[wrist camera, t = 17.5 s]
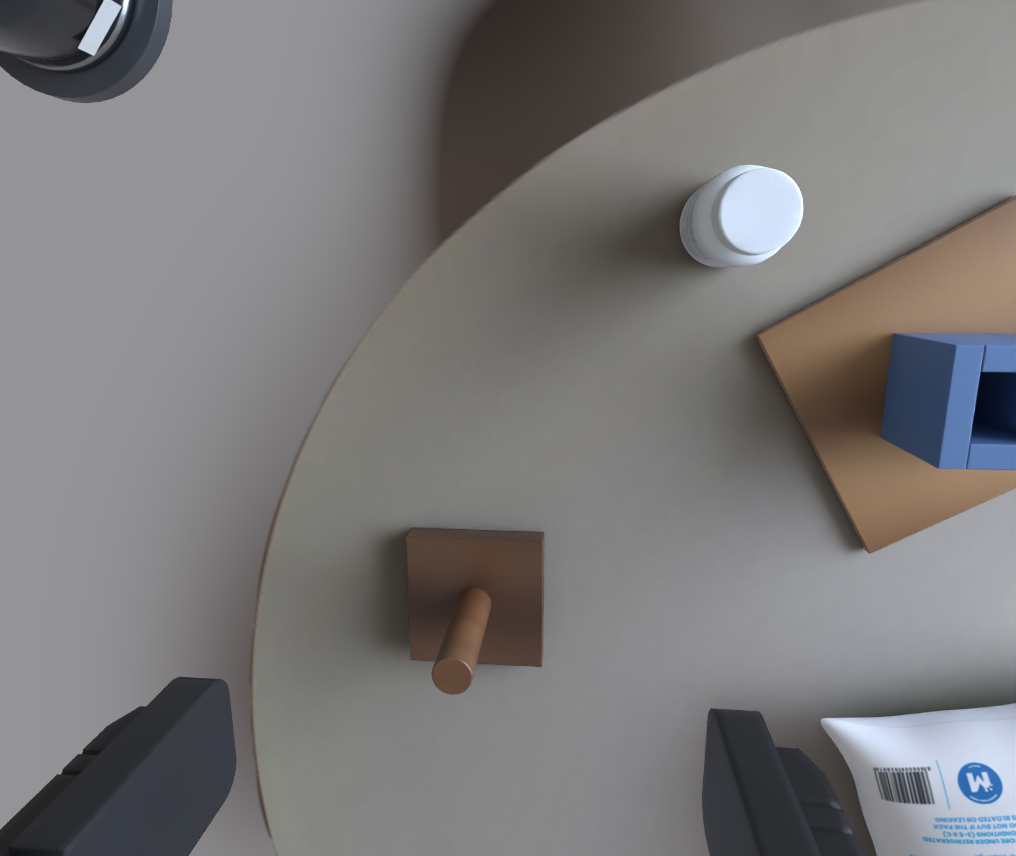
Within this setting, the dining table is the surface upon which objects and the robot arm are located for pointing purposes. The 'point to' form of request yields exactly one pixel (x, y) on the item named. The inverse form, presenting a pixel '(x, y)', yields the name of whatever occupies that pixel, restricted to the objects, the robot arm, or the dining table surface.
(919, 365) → the blue pencil cup
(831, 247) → the dining table surface
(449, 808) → the dining table surface
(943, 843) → the pouch
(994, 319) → the wooden board
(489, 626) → the dowel stand
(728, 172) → the pill bottle
